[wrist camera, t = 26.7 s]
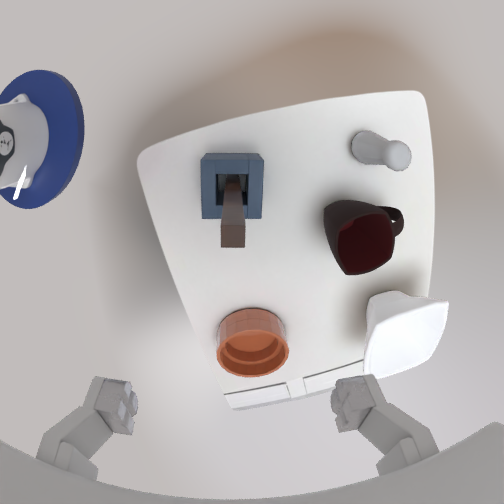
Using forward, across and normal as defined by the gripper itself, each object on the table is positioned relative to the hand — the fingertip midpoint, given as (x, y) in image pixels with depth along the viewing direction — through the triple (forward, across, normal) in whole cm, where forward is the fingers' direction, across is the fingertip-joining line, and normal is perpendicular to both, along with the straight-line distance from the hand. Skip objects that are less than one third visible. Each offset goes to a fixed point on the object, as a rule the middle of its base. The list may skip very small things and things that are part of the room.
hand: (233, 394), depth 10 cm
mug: (+39, -21, +6) cm, 45 cm away
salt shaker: (+39, -22, -7) cm, 46 cm away
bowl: (+39, -34, +27) cm, 59 cm away
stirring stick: (+39, 0, 0) cm, 39 cm away
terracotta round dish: (+39, -4, +33) cm, 51 cm away
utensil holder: (+39, 0, 0) cm, 39 cm away
